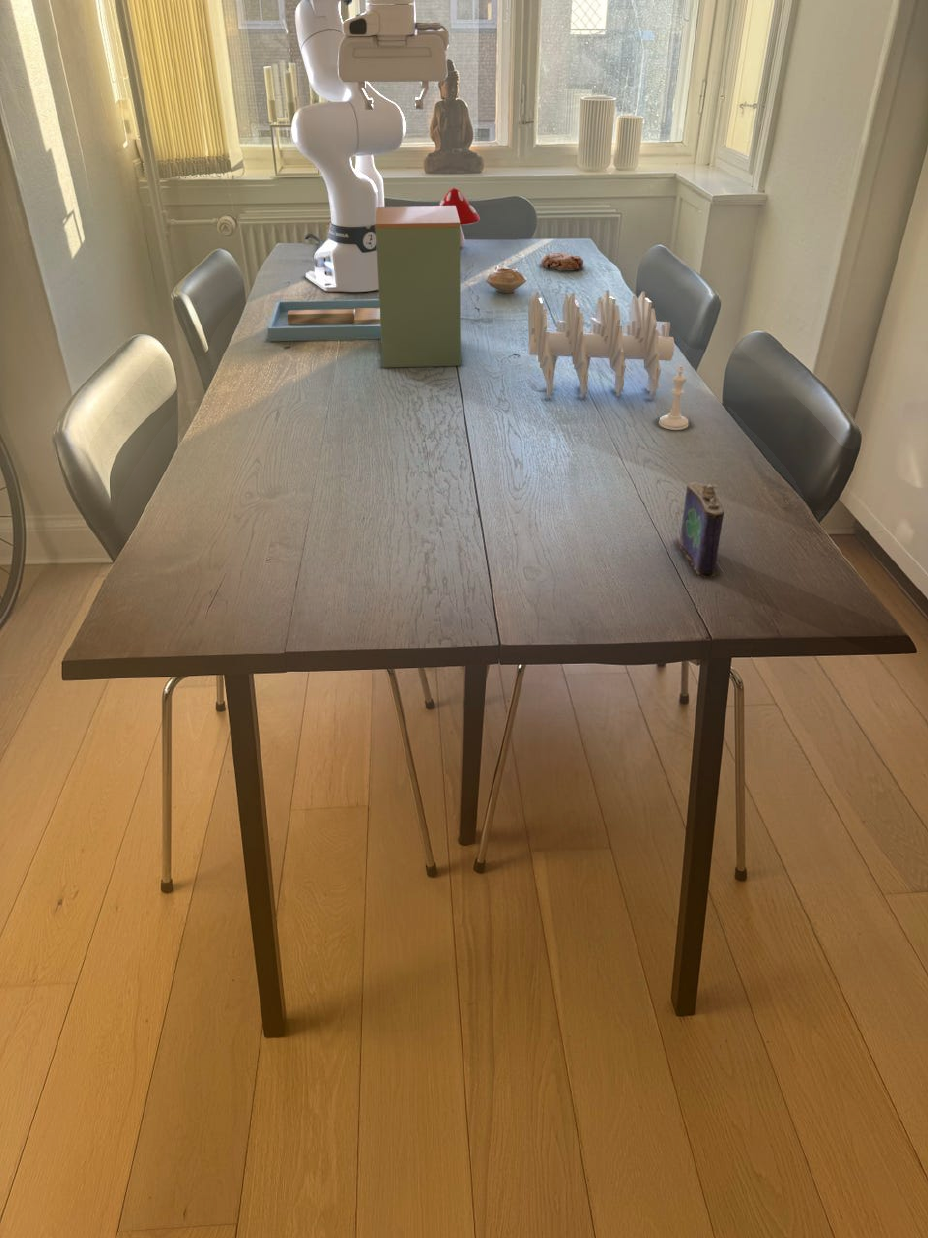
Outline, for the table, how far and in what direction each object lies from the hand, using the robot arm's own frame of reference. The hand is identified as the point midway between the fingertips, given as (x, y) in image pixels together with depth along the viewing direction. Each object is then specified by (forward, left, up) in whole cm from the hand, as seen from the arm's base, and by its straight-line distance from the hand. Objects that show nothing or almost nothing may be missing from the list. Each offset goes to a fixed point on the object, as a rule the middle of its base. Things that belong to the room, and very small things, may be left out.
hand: (394, 109), depth 179 cm
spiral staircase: (+53, +5, -41) cm, 67 cm away
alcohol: (-54, +28, -41) cm, 73 cm away
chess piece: (+71, +5, -41) cm, 82 cm away
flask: (+102, -26, -41) cm, 113 cm away
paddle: (-8, -10, -40) cm, 42 cm away
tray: (-7, -9, -41) cm, 43 cm away
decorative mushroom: (-46, +50, -41) cm, 79 cm away
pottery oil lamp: (-7, +35, -41) cm, 55 cm away
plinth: (+17, -8, -41) cm, 45 cm away
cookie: (-13, +59, -41) cm, 73 cm away
